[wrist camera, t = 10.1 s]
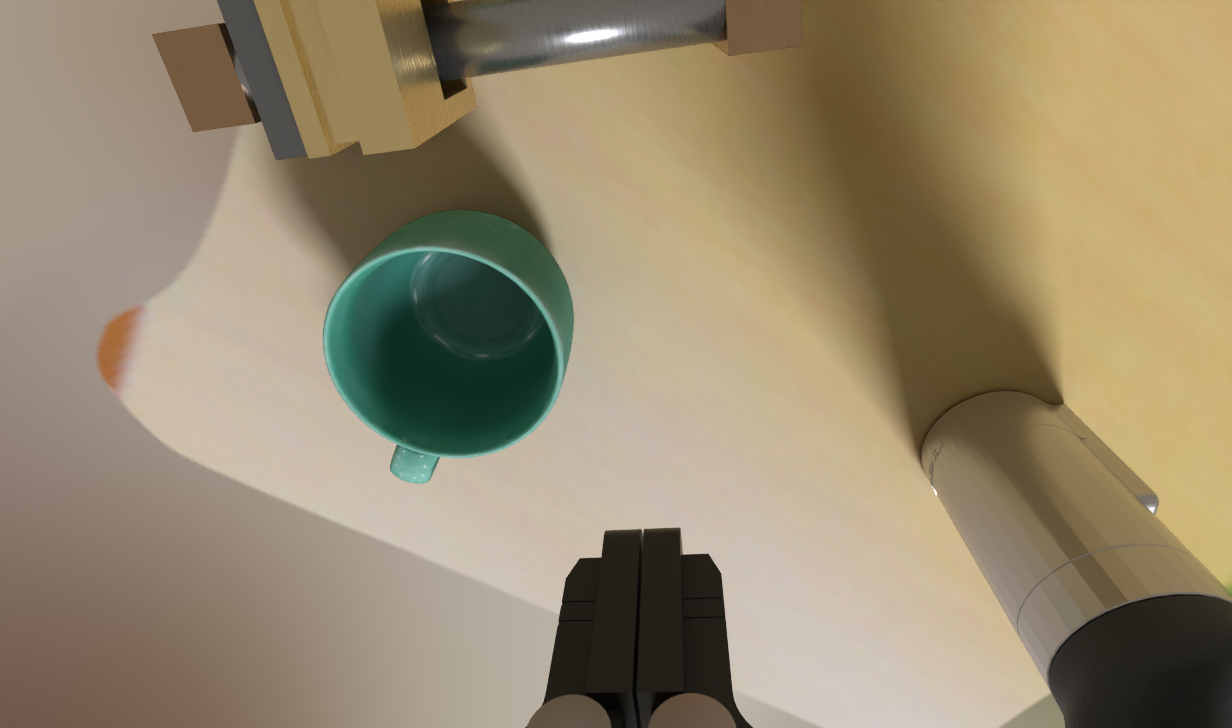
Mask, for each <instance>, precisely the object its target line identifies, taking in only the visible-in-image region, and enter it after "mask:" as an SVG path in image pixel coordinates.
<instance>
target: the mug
mask: <svg viewBox="0 0 1232 728" xmlns="http://www.w3.org/2000/svg"><path fill="white" fill-rule="evenodd" d="M573 326H574V314H573V304H572V299H571V294H570V290H569V287H568V284H567V282H566V279H565V277H564V275H563V273H562V271H561V269H560V267H559V265H558V263H557V262H556V260H555V259H554V257H553V256H552V255H551V254H550V252H549V251H548V250H547V249H546V248H545V247H544V246H543V244H542V243H541V242H540V241H538V240H537V239H536V238H535V237H534V236H533V235H532V234H530V233H529V232H528V231H526V230H525V229H523V228H522V227H520V226H518V225H517V224H515V223H513V222H511V221H509V220H506V219H504V218H502V217H499V216H496V215H493V214H489V213H484V212H480V211H472V210H449V211H442V212H437V213H433V214H429V215H426V216H423V217H421V218H418V219H416V220H414V221H412V222H410V223H408V224H406V225H404V226H403V227H401V228H400V229H398V230H397V231H395V232H394V233H393V234H391V235H390V236H389V237H387V238H386V239H385V240H384V241H383V242H381V243H380V244H379V245H378V246H377V247H376V248H375V249H374V250H372V251H371V252H370V253H369V254H368V255H367V256H366V257H365V258H364V259H363V260H362V261H361V262H360V263H359V264H358V265H357V266H356V267H355V268H354V270H353V271H352V272H351V273H350V274H349V275H348V276H347V277H346V279H345V280H344V281H343V282H342V284H341V285H340V286H339V288H338V289H337V291H336V293H335V294H334V296H333V298H332V300H331V302H330V304H329V307H328V310H327V313H326V317H325V321H324V328H323V349H324V356H325V360H326V365H327V368H328V372H329V374H330V376H331V379H332V381H333V383H334V385H335V387H336V389H337V391H338V392H339V394H340V396H341V397H342V399H343V400H344V401H345V403H346V404H347V405H348V407H349V408H350V409H351V410H352V411H353V412H354V413H355V415H356V416H357V417H358V418H359V419H360V420H361V421H363V422H364V423H365V424H366V425H367V426H368V427H370V428H371V429H372V430H374V431H375V432H377V433H378V434H379V435H381V436H382V437H384V438H386V439H388V440H389V441H391V442H393V443H395V444H397V446H396V449H395V451H394V454H393V457H392V460H391V465H390V471H391V472H392V473H393V474H394V475H395V476H397V477H398V478H400V479H401V480H404V481H407V482H411V483H427V482H428V481H429V480H430V479H431V476H432V474H433V472H434V470H435V468H436V465H437V463H438V461H439V458H440V457H444V458H469V457H476V456H482V455H486V454H490V453H494V452H497V451H500V450H503V449H505V448H507V447H509V446H512V445H514V444H515V443H517V442H519V441H520V440H522V439H523V438H525V437H526V436H527V435H529V434H530V433H531V432H533V431H534V430H535V429H536V428H537V427H538V426H539V425H540V424H541V423H542V421H543V420H544V419H545V418H546V416H547V415H548V414H549V412H550V411H551V409H552V407H553V406H554V404H555V402H556V399H557V397H558V395H559V392H560V389H561V386H562V383H563V379H564V376H565V372H566V368H567V364H568V360H569V355H570V350H571V344H572V338H573Z"/></svg>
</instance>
